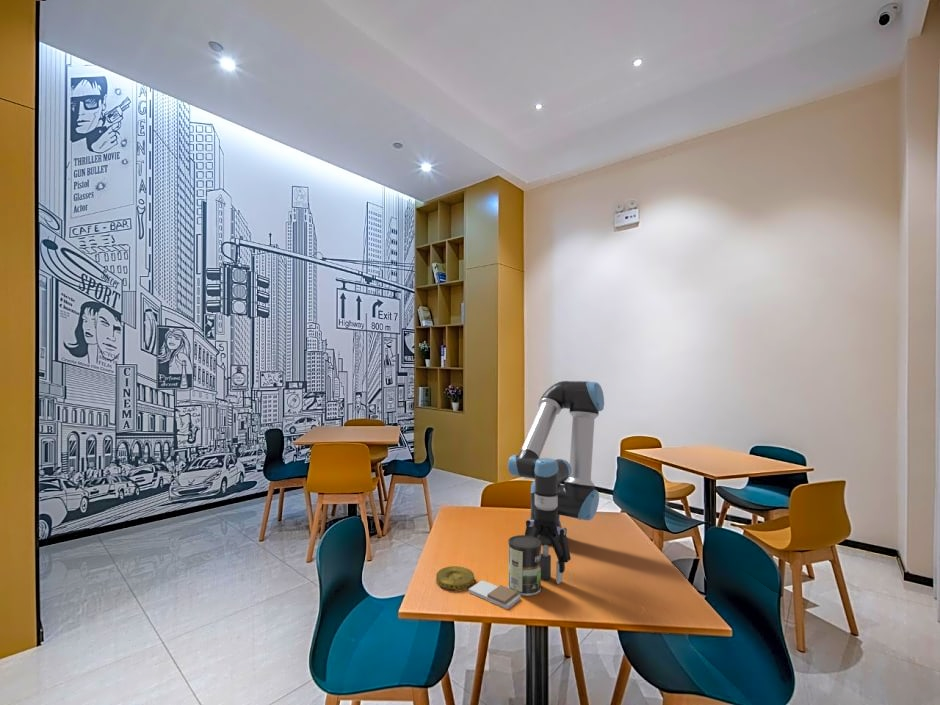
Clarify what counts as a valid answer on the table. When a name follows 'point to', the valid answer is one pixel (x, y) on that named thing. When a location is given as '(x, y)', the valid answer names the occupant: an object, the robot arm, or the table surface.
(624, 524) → the table surface
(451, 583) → the olive gold disc
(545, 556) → the grey white-capped bottle
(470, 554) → the table surface
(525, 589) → the coffee can
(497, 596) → the white and brown box
